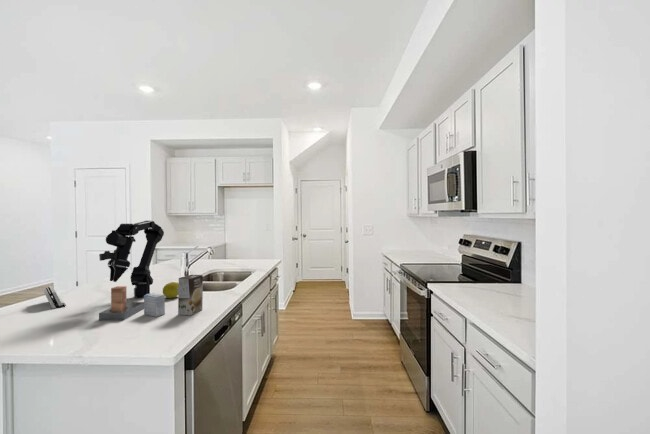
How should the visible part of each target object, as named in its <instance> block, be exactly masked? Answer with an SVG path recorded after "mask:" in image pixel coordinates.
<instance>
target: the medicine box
mask: <svg viewBox="0 0 650 434" xmlns="http://www.w3.org/2000/svg"><path fill="white" fill-rule="evenodd" d="M165 298H166V297H165V295H163V293H155V292H151V293H150V294H146V295H144V297H143V302H144V309H143V315H146V316H150V317H156V318H157V317H160V316H164V315H165V314H166V310H165V309H166V307H165V306H166V303H165V300H166V299H165Z"/></svg>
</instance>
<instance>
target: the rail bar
mask: <svg viewBox="0 0 650 434" xmlns="http://www.w3.org/2000/svg"><path fill="white" fill-rule="evenodd" d="M142 310H143V311H144V301H138V302H137V301H134V302H133V301H129V302H127V301H126V309H125V310H123V311H111V307H108V308H106V309H105V310H103V311H100V312H99V313H98V321H125V320H128V319H129V318H131V317H133V316H134V315H135V314H137V313H139V312H141V311H142Z"/></svg>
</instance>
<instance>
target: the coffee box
mask: <svg viewBox="0 0 650 434" xmlns="http://www.w3.org/2000/svg"><path fill="white" fill-rule="evenodd" d="M203 277H204V275H202V274H188V275H185V276H181V277H178V283H179V286H178V296H177V300H178V301H177V302H178V303H177V305H178V306H177V314H178V315H180V316H192V315H194V314H197V313H199V312H200V310H201V311H203V290H204V289H203V288H204V287H203V285H204V284H203V280H204V278H203Z"/></svg>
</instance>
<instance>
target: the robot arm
mask: <svg viewBox="0 0 650 434" xmlns="http://www.w3.org/2000/svg"><path fill="white" fill-rule="evenodd" d="M140 231H143V233H144V234H145V239H146V243H145V246H144V249H143V252H142V256H141V259H140V261H139V264H138V265H137V266H134V267H133V268H132V272H131V274H130V283H131V286H134V288H133V296H134V297H135V298H136V299H141V298H144V295H146V294H150V291H151V290H150V289H151V285H153V284H154V279H153V277H152V276H151V270H150V265H151V262H152V260H153V256H154V253H155V250H156V247H157V245H158V243H160V242H161V241H162V239H163V237H164V236H165V232H164V229H163V228H162V227H161V226H160V225H159V224H156V222H155V221H153V220H144V221H143V220H142V221H139V222H135V223H120V224H119V226H118V227H117V228H116V229H115V230H113V229H112V230H111V232H110V233H108V235H106V236H105V242H106V244H108V245H110V246H114V247H116V249H114V251H113V252H111V251H110V250H105V251H103V253H99V261H107V260H108V262H107V267H108V268H109V272H110V273H109V274H110V275H109V281H110V282H113V283H117V282H118V280H119V279H120V278H121V277H122V276H123V274H125V272H126V271H127V270H128V269H129V268H130V265H131V262H130V261H129V260H128V258H129V255H130V254H131V249H132V246H133V243H135V242H136V239H135V237H134V236H135V235H137V234H138V233H139V232H140Z"/></svg>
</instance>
